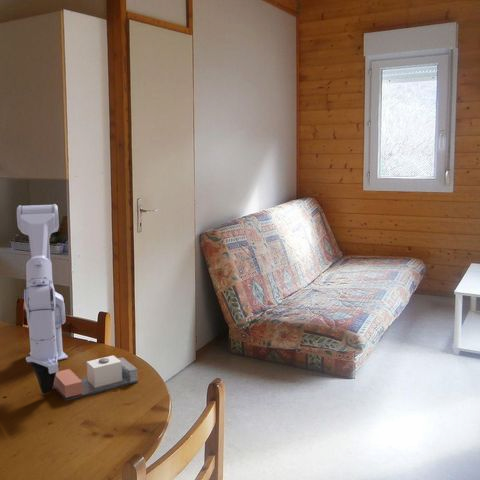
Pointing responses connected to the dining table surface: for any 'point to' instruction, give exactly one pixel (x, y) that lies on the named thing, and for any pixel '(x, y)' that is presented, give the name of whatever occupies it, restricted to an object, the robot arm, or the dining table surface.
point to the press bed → (127, 378)
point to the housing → (104, 371)
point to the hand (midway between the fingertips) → (46, 391)
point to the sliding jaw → (68, 383)
